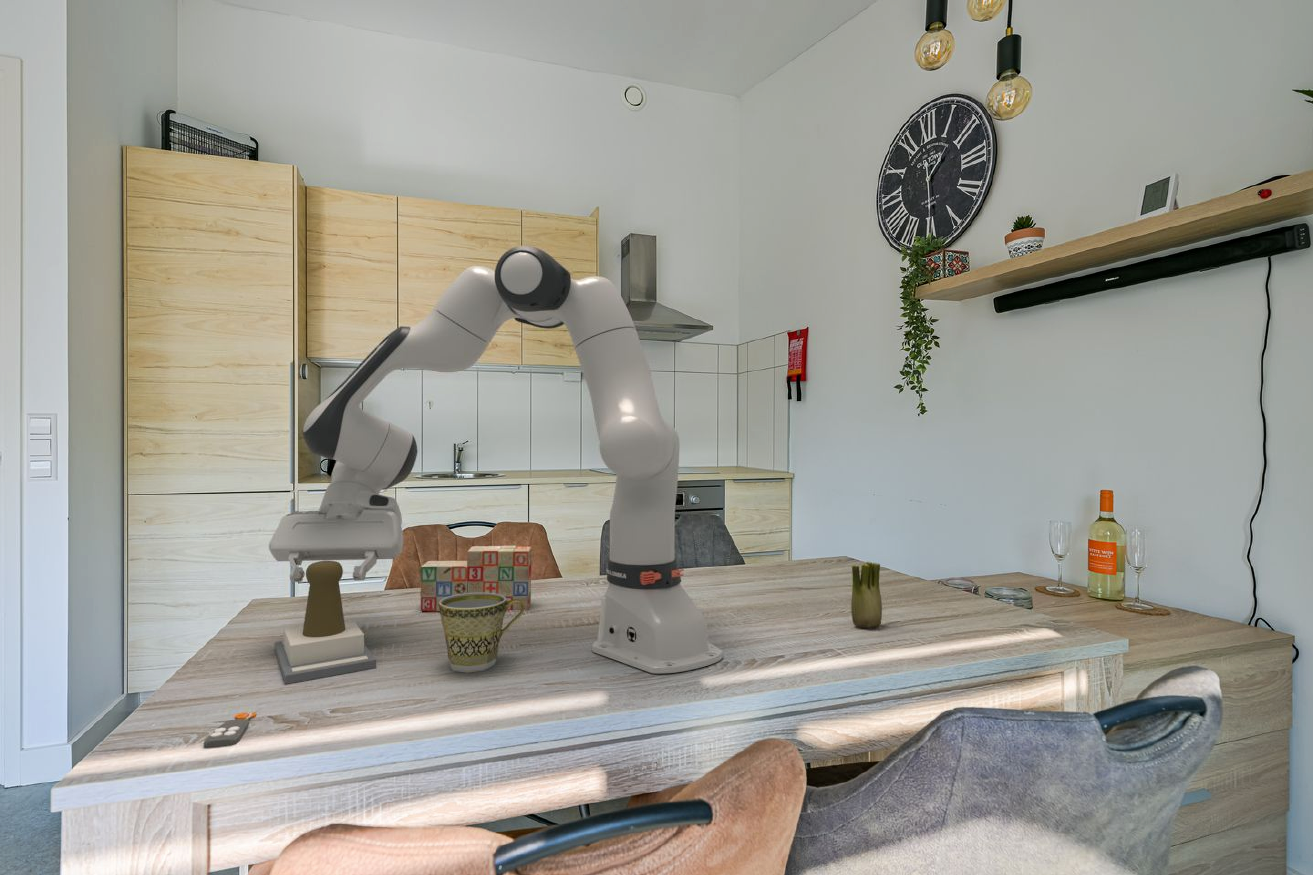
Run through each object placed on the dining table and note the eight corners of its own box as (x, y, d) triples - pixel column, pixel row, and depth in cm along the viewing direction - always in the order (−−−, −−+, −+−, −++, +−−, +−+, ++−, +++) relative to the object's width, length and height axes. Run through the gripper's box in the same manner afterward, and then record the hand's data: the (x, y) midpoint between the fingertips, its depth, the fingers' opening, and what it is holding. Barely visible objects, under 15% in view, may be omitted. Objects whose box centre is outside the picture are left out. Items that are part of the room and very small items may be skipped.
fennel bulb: (851, 629, 120) (852, 564, 120) (848, 622, 124) (848, 559, 124) (885, 631, 119) (885, 565, 119) (880, 623, 123) (880, 560, 123)
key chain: (238, 748, 74) (238, 735, 74) (201, 752, 73) (201, 739, 73) (273, 703, 87) (273, 692, 87) (242, 706, 86) (242, 695, 86)
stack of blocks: (419, 613, 130) (419, 551, 130) (427, 605, 136) (427, 546, 136) (528, 611, 132) (528, 550, 132) (531, 603, 138) (532, 545, 138)
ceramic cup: (444, 681, 93) (445, 611, 93) (433, 660, 102) (433, 596, 102) (533, 667, 99) (533, 601, 99) (515, 648, 108) (515, 587, 108)
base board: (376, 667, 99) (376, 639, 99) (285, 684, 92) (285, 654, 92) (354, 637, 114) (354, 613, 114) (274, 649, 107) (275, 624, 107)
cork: (313, 626, 106) (313, 558, 106) (351, 625, 106) (351, 557, 106) (295, 637, 100) (295, 565, 100) (335, 636, 100) (336, 565, 100)
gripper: (278, 499, 110) (250, 569, 100) (405, 498, 113) (389, 566, 103) (289, 523, 115) (263, 591, 105) (411, 521, 117) (396, 588, 108)
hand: (326, 579), depth 104 cm, fingers open, 8 cm apart
